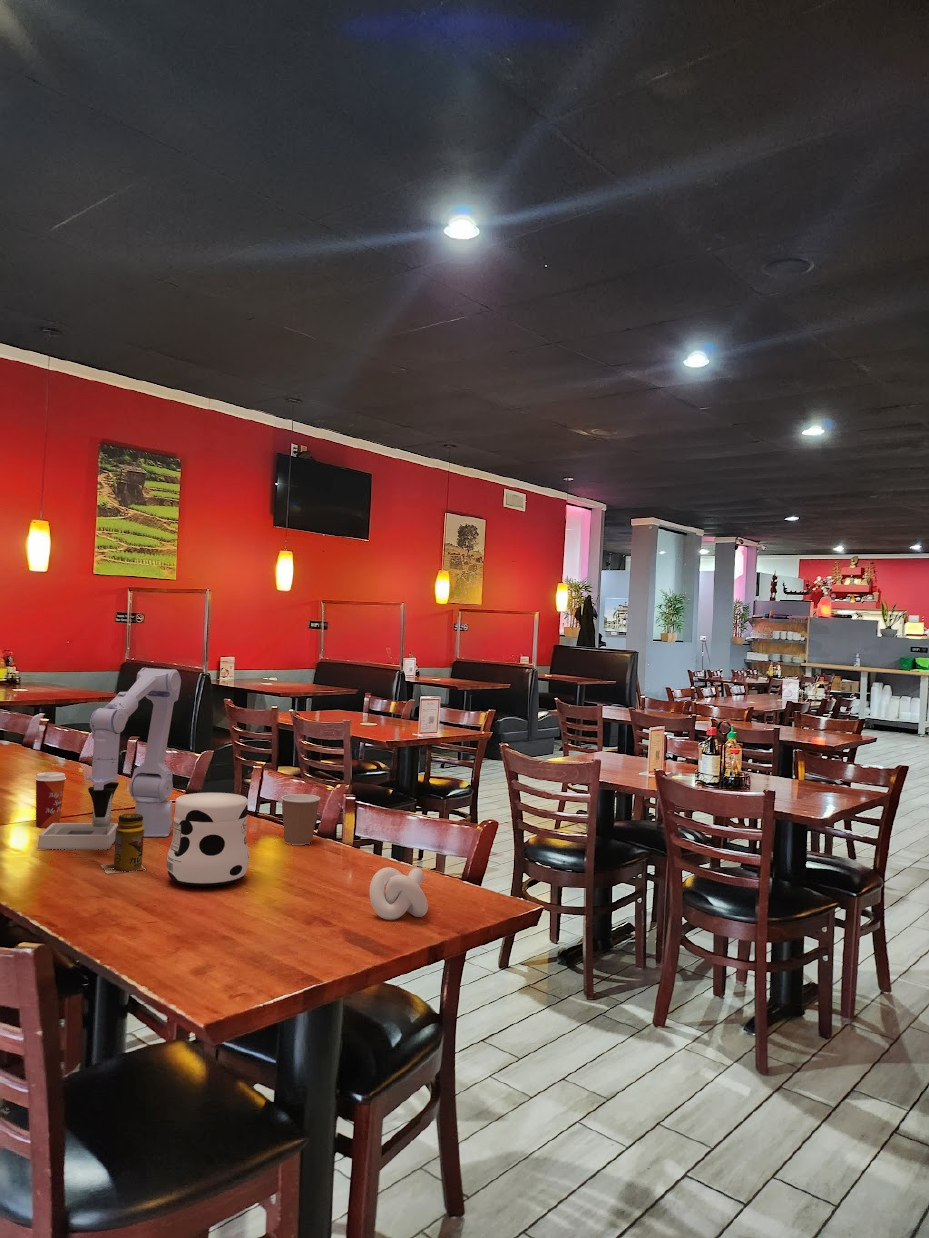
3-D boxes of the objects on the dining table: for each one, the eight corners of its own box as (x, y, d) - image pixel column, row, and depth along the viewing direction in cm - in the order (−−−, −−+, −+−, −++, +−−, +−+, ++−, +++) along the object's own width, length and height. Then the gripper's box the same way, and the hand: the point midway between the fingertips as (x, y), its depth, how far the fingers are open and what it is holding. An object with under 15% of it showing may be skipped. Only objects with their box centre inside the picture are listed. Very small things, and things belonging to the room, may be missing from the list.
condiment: (146, 870, 193) (149, 817, 193) (106, 874, 188) (110, 819, 188) (139, 862, 199) (142, 811, 199) (100, 866, 194) (103, 813, 195)
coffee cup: (322, 839, 230) (324, 795, 231) (311, 848, 220) (314, 802, 221) (285, 837, 231) (287, 792, 232) (273, 845, 221) (275, 799, 222)
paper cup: (54, 829, 226) (57, 776, 227) (25, 827, 227) (29, 775, 227) (68, 823, 234) (72, 772, 235) (41, 821, 234) (44, 770, 235)
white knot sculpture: (373, 926, 163) (376, 879, 163) (363, 907, 174) (365, 863, 175) (430, 924, 166) (433, 877, 166) (416, 905, 178) (419, 861, 178)
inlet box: (118, 836, 222) (119, 823, 222) (108, 849, 209) (109, 835, 209) (51, 836, 219) (52, 822, 219) (37, 850, 205) (38, 835, 205)
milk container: (262, 876, 193) (266, 796, 194) (220, 896, 176) (225, 809, 177) (195, 866, 198) (199, 789, 198) (148, 886, 181) (153, 801, 182)
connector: (111, 823, 207) (113, 790, 207) (108, 827, 203) (110, 793, 203) (94, 823, 206) (96, 790, 206) (90, 827, 202) (92, 793, 202)
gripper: (93, 753, 211) (90, 808, 210) (81, 762, 197) (77, 821, 196) (123, 754, 213) (120, 809, 212) (114, 763, 198) (110, 821, 198)
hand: (102, 815), depth 204 cm, fingers closed on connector, 4 cm apart
